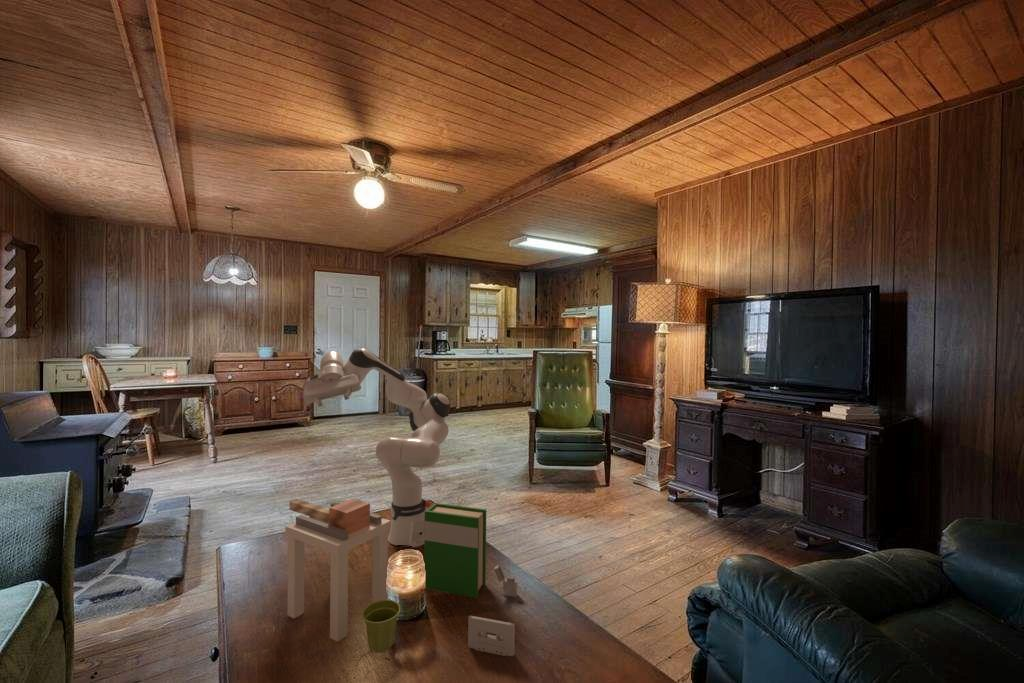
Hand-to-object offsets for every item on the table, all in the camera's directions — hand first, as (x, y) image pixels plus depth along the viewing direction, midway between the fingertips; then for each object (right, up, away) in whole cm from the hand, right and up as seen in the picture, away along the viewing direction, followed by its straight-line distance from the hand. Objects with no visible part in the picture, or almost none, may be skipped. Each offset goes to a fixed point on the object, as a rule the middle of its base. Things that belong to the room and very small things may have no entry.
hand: (333, 401), depth 162 cm
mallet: (+11, -30, -33) cm, 46 cm away
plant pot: (+32, -55, -49) cm, 81 cm away
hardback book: (+47, -55, -23) cm, 76 cm away
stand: (+16, -55, -36) cm, 67 cm away
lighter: (+63, -55, -27) cm, 88 cm away
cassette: (+60, -56, -51) cm, 97 cm away
